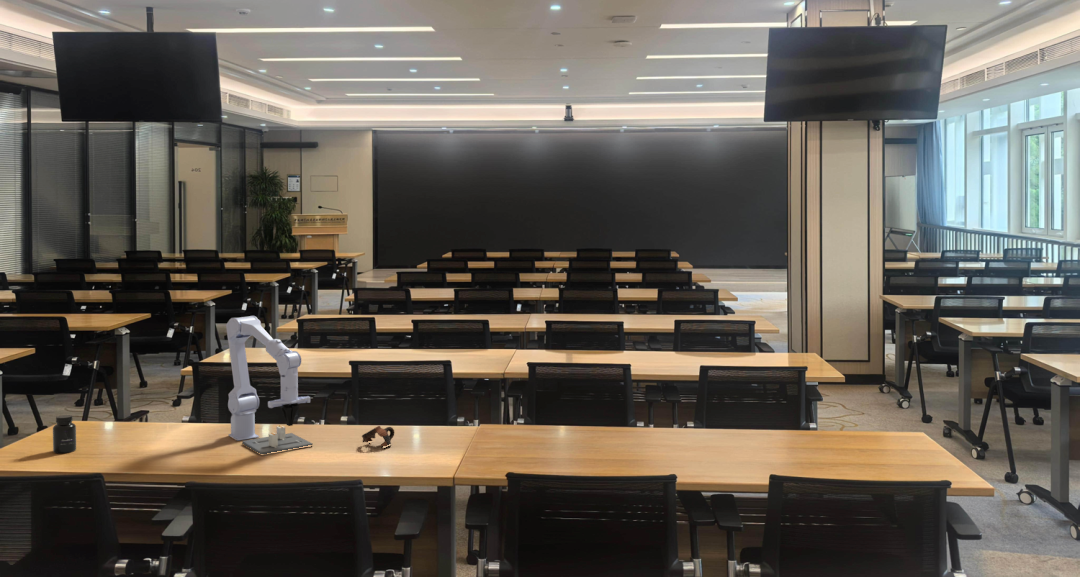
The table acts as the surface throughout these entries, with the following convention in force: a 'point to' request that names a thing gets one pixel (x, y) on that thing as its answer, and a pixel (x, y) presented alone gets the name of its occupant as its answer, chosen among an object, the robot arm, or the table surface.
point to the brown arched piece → (381, 433)
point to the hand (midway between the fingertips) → (289, 425)
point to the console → (283, 444)
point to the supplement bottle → (64, 435)
